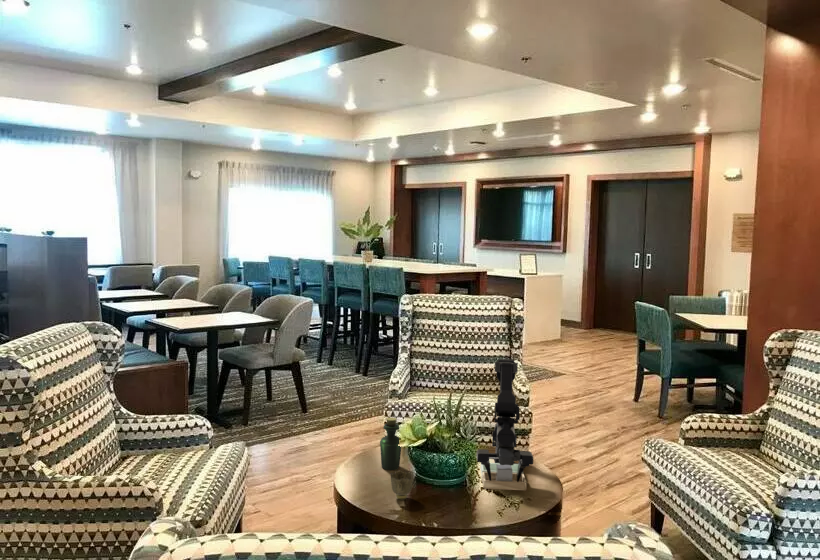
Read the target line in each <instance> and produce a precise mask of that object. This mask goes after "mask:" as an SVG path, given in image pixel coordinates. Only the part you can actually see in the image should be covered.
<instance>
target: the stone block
mask: <svg viewBox="0 0 820 560" xmlns="http://www.w3.org/2000/svg"><path fill="white" fill-rule="evenodd" d="M512 471H513V470H512V467H511V465H500V464H496V481H511V482H512Z"/></svg>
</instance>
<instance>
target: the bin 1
mask: <svg viewBox="0 0 820 560" xmlns="http://www.w3.org/2000/svg"><path fill="white" fill-rule="evenodd" d="M496 464H499V463H495V462H490V471H491V472H495V473H496ZM511 467H512V470H513V471H512V473H517V470H518V463H514V465H511ZM482 472H487V470H486V467H485V466H484V465H482V464H481V463H480V474H481V476H482ZM522 474H524V471H523V472H522Z"/></svg>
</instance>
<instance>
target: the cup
mask: <svg viewBox="0 0 820 560" xmlns="http://www.w3.org/2000/svg"><path fill="white" fill-rule="evenodd" d="M389 475H390V484H391V491H392V492H393V493H394V494H395V498H396V499H397V500H400V501H403V500H406V499H408V494H410V492H412V491H411V490H412V488H413V483H414V474H413V473H412V472H411V471H409V470H408V471H406V470H404V471H402V470H398V471H396V470H394V473H393V472H391V473H390V474H389Z"/></svg>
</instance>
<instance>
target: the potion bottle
mask: <svg viewBox="0 0 820 560" xmlns="http://www.w3.org/2000/svg"><path fill="white" fill-rule="evenodd" d="M397 419H398V418H396V417H386V423H385V424H384V425H383V430H385V432H386V435H385V436H384V437H382V438H381V439H380V440H379V447H380V450H379V451H380V463H381V464H380V465H381V468H382V469H384V470H385V471H386V470H387V471H396V470H398V469H399V468H400V462H401V453H402V446H401V447H400V446H398V444H399V438H400V437H398V435H396V434H397V433H396V432H397V431H398V430H399V429H400V426H399V424H398V423H397Z"/></svg>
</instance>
